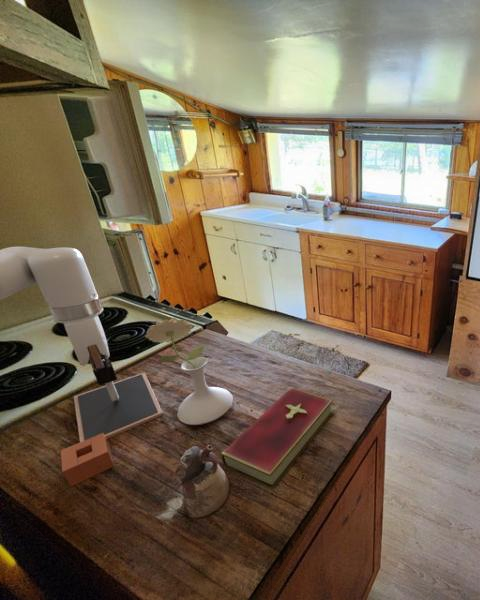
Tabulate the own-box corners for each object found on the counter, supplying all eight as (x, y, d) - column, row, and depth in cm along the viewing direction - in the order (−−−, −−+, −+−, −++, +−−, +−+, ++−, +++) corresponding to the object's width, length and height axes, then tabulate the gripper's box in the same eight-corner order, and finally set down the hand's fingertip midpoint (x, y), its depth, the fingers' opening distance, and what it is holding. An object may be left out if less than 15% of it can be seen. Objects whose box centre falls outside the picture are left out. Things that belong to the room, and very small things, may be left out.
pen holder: (70, 486, 59) (62, 471, 57) (68, 464, 63) (60, 450, 61) (114, 466, 63) (107, 451, 61) (110, 446, 67) (103, 432, 65)
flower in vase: (237, 391, 83) (218, 304, 73) (229, 424, 73) (206, 328, 63) (180, 399, 80) (151, 308, 69) (163, 435, 70) (126, 336, 59)
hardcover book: (223, 466, 64) (219, 451, 62) (292, 398, 82) (290, 385, 80) (272, 489, 60) (269, 473, 58) (333, 412, 78) (332, 399, 76)
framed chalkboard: (82, 449, 66) (80, 446, 65) (74, 398, 78) (73, 395, 78) (163, 415, 75) (162, 412, 75) (145, 374, 88) (144, 371, 87)
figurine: (193, 482, 60) (177, 436, 55) (234, 476, 62) (222, 430, 57) (178, 521, 54) (159, 473, 49) (224, 513, 56) (210, 465, 51)
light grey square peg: (112, 404, 76) (95, 361, 71) (112, 400, 77) (95, 359, 72) (120, 401, 77) (103, 359, 72) (119, 398, 78) (103, 356, 73)
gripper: (51, 301, 69) (83, 370, 77) (52, 328, 59) (89, 405, 67) (97, 292, 74) (123, 358, 82) (105, 316, 64) (134, 389, 72)
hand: (107, 379), depth 74 cm, fingers closed on light grey square peg, 1 cm apart
